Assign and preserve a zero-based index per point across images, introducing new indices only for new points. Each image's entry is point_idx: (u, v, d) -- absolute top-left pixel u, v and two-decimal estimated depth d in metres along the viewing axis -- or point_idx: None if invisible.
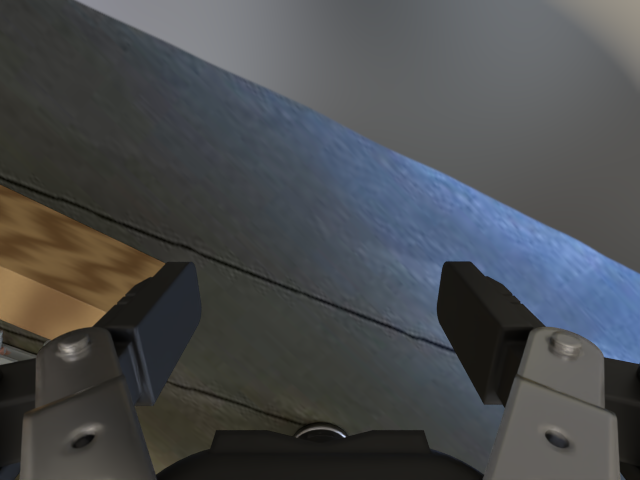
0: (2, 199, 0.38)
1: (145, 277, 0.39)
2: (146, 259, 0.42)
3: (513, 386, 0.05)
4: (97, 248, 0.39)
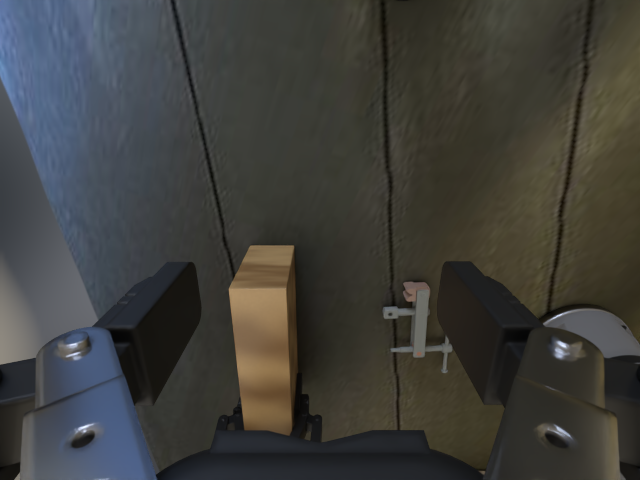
0: None
1: None
2: None
3: (513, 386, 0.05)
4: None
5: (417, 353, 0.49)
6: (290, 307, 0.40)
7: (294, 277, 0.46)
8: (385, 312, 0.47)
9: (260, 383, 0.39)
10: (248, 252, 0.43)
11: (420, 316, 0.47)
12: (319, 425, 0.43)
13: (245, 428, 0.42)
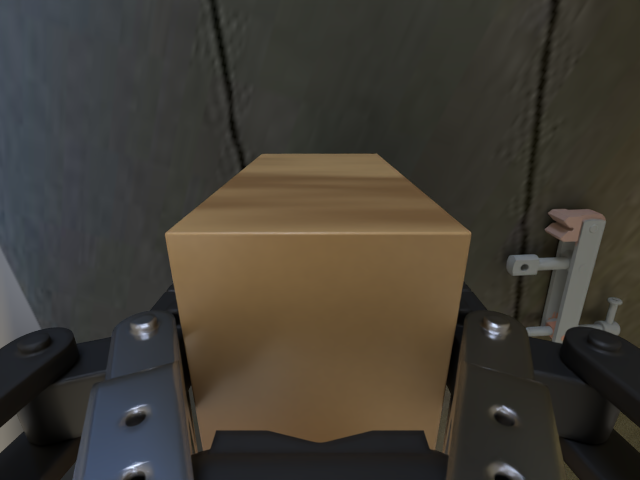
0: None
1: None
2: None
3: (460, 373, 0.05)
4: None
5: (563, 337, 0.29)
6: None
7: None
8: (516, 263, 0.27)
9: None
10: (258, 160, 0.15)
11: (581, 270, 0.26)
12: None
13: None
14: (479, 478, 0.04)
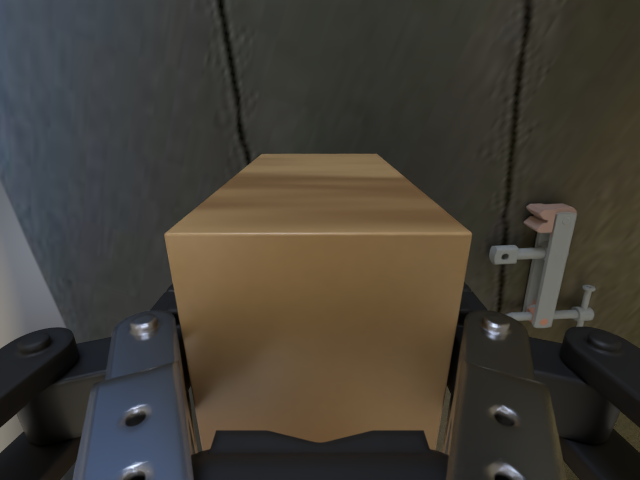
0: None
1: None
2: None
3: (460, 373, 0.05)
4: None
5: (542, 321, 0.31)
6: None
7: None
8: (497, 253, 0.30)
9: None
10: (257, 161, 0.15)
11: (556, 258, 0.29)
12: None
13: None
14: (479, 478, 0.04)
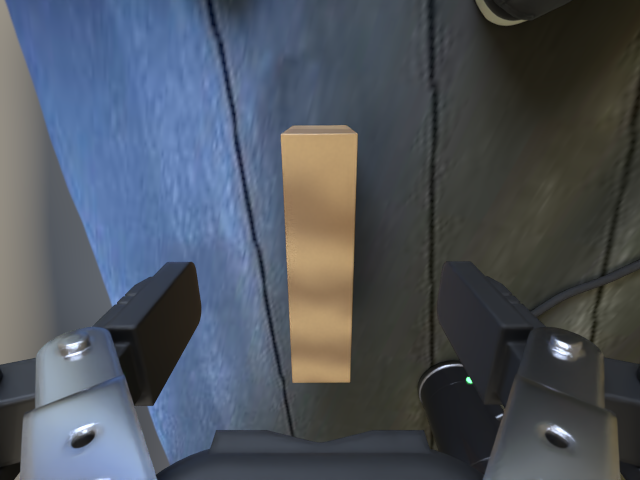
0: None
1: None
2: None
3: (513, 386, 0.05)
4: None
5: None
6: None
7: None
8: None
9: (314, 278, 0.31)
10: None
11: None
12: None
13: (292, 343, 0.33)
14: None
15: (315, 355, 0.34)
